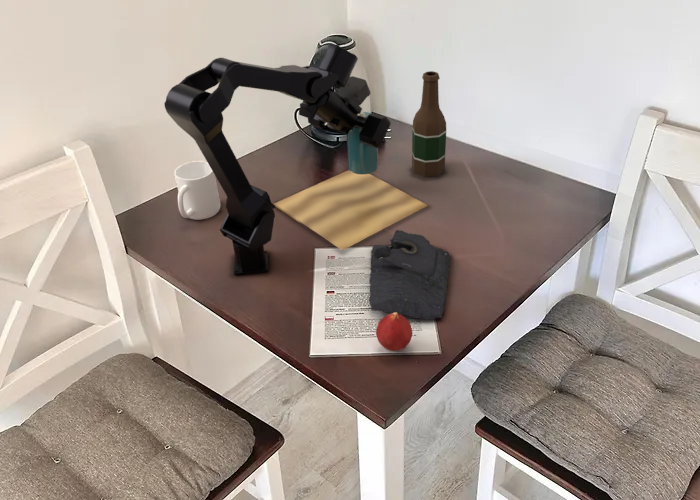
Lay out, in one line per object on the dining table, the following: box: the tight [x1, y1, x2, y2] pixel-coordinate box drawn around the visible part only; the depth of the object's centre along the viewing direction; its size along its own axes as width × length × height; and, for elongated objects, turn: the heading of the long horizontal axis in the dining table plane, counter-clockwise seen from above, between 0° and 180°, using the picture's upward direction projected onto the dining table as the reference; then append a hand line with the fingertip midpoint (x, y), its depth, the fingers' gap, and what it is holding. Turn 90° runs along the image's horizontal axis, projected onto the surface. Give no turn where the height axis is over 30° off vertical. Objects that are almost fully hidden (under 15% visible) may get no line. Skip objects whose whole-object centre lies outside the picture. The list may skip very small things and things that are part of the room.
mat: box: [273, 169, 428, 251], centre depth 144 cm, size 24×24×1 cm
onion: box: [375, 312, 413, 352], centre depth 106 cm, size 6×6×8 cm
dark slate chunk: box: [368, 229, 451, 320], centre depth 121 cm, size 15×22×5 cm
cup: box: [173, 160, 221, 221], centre depth 141 cm, size 8×12×10 cm
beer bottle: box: [411, 70, 447, 178], centre depth 148 cm, size 8×8×24 cm
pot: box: [346, 111, 379, 174], centre depth 142 cm, size 7×7×13 cm
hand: (366, 137), depth 143 cm, fingers closed on pot, 6 cm apart
